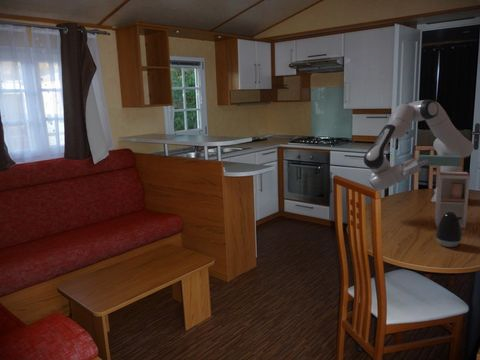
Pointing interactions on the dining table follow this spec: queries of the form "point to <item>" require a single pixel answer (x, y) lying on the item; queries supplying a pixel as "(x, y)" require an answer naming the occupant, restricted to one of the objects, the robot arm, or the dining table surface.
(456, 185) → the terracotta jar
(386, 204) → the dining table surface
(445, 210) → the shelf unit
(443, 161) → the long teal rectangular block
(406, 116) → the robot arm
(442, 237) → the black roly-poly toy
